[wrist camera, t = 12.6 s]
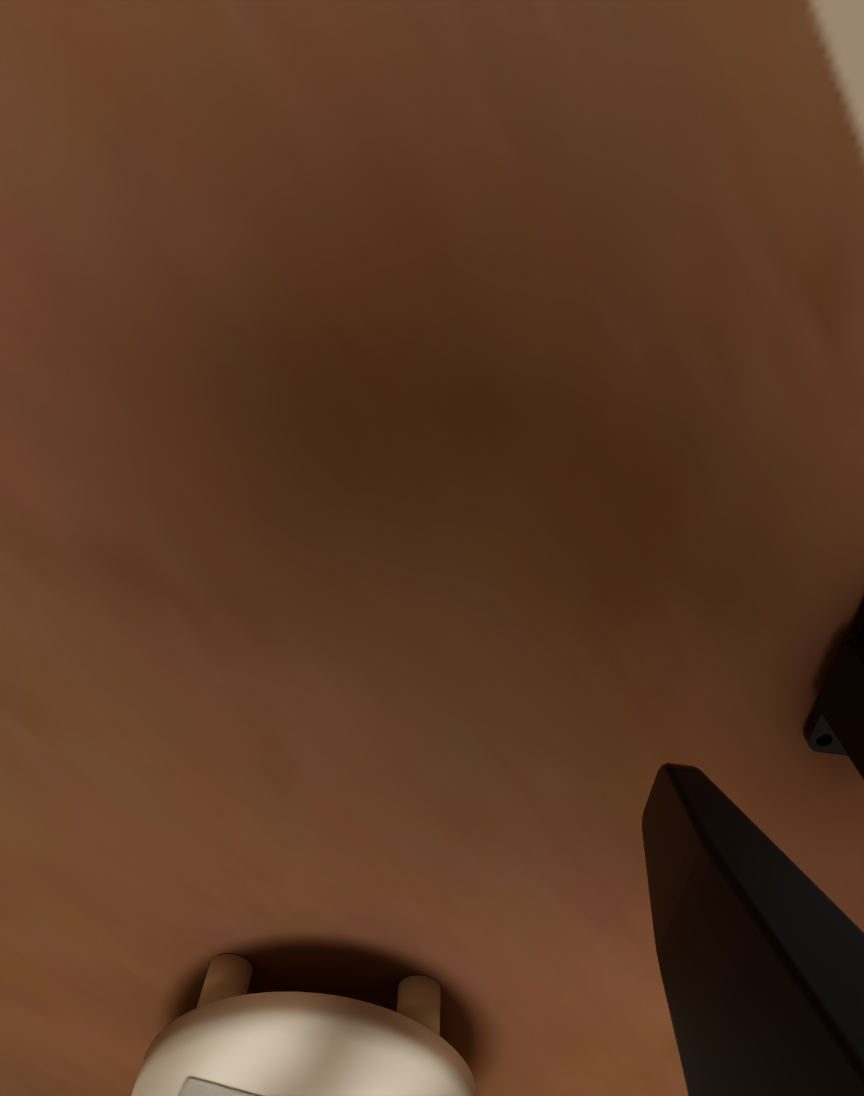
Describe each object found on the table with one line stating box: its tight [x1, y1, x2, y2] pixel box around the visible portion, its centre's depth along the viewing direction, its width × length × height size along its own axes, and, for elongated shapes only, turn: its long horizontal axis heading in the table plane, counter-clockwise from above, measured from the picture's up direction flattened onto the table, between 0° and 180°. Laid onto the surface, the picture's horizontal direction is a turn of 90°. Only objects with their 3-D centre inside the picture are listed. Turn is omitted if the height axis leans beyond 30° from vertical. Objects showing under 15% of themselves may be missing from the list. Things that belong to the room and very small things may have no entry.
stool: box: [132, 954, 477, 1096], centre depth 32 cm, size 14×14×4 cm
